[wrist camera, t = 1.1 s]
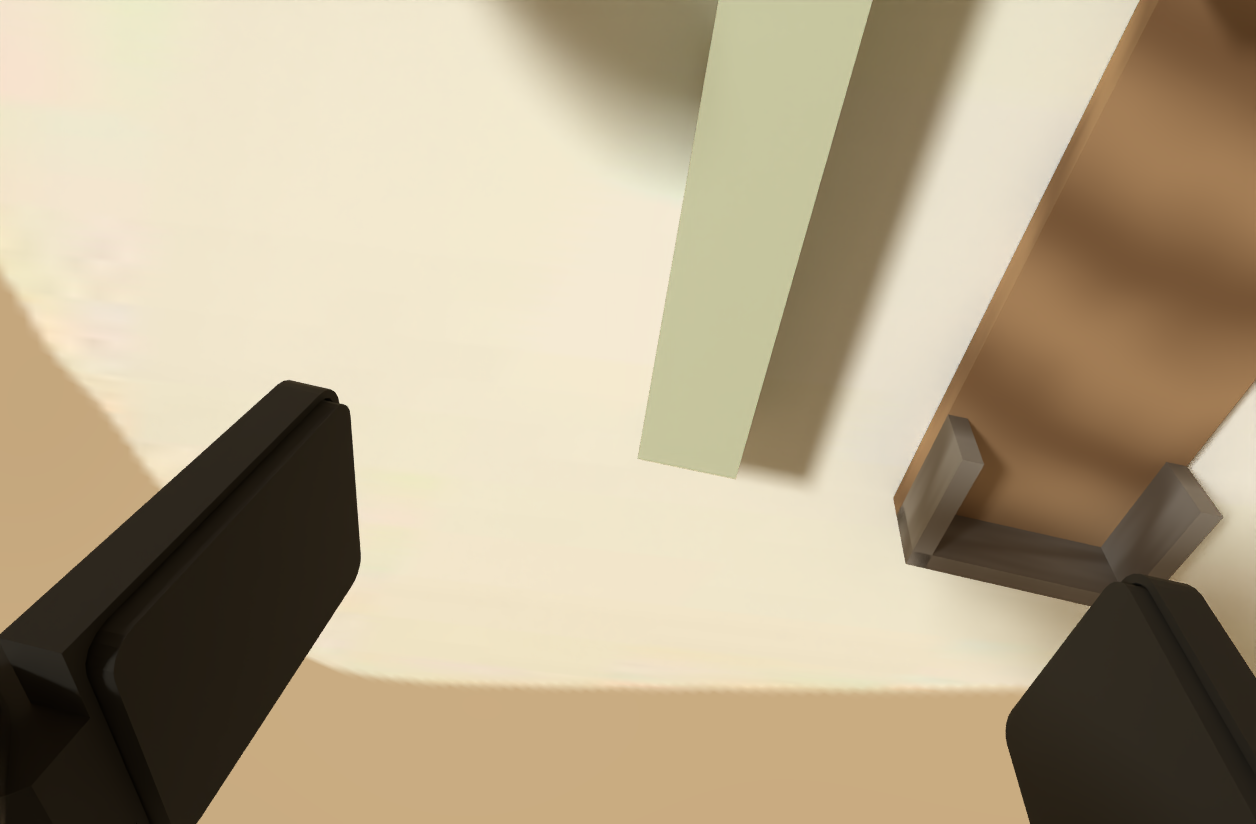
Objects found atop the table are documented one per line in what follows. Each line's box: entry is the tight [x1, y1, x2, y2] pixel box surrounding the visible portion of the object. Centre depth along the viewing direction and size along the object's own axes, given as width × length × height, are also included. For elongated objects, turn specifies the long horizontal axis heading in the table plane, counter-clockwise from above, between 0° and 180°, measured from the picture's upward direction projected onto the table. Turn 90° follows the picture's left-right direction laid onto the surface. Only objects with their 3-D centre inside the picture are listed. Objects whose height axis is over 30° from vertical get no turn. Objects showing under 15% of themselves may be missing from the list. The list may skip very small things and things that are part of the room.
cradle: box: [893, 0, 1256, 606], centre depth 24 cm, size 28×10×4 cm, turn 171°
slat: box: [638, 0, 873, 479], centre depth 25 cm, size 22×4×5 cm, turn 173°
